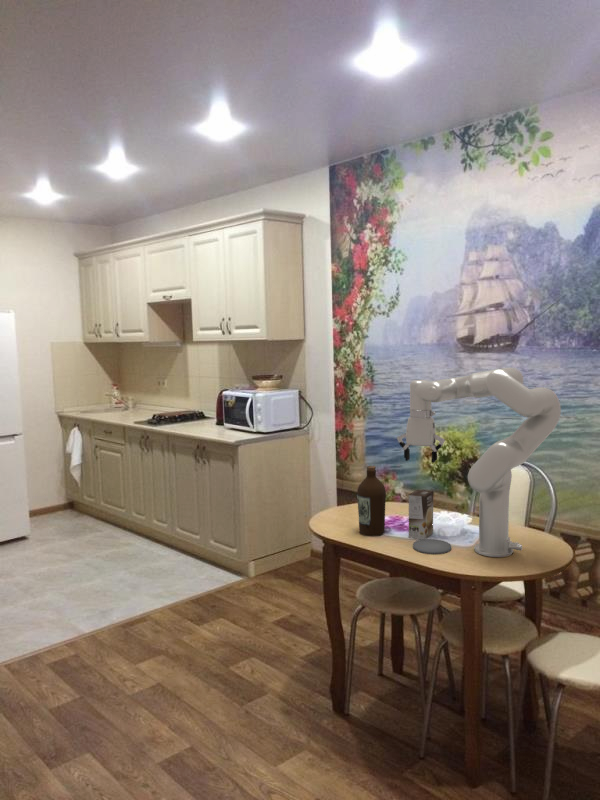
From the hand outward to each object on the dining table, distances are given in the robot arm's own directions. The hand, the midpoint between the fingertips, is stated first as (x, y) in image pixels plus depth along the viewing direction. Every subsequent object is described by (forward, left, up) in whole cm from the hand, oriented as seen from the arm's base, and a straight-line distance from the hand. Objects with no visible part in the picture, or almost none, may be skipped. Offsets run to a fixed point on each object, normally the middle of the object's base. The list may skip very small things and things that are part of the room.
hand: (420, 461), depth 237 cm
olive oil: (+18, +3, -28) cm, 33 cm away
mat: (-7, +12, -28) cm, 31 cm away
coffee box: (0, 0, -28) cm, 28 cm away
